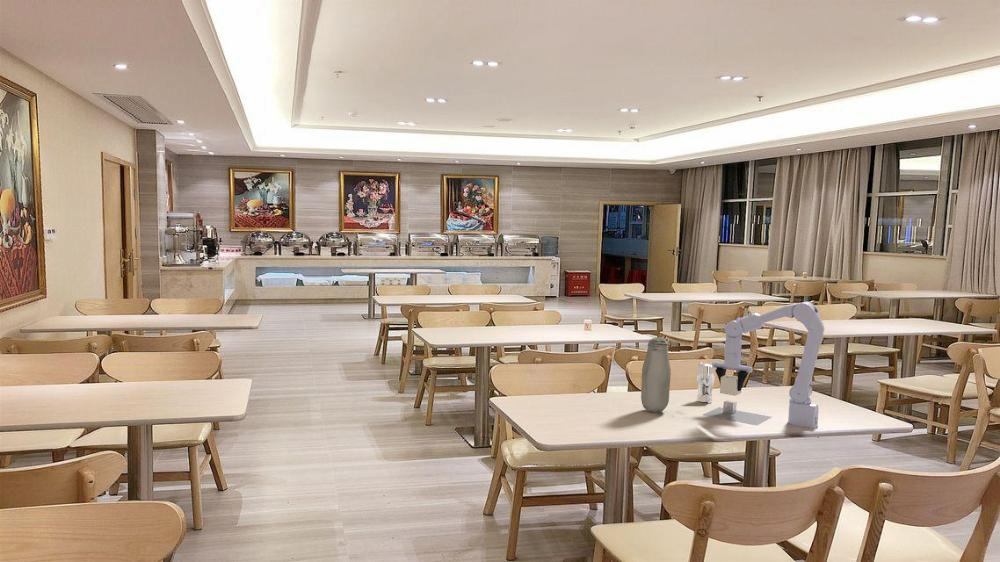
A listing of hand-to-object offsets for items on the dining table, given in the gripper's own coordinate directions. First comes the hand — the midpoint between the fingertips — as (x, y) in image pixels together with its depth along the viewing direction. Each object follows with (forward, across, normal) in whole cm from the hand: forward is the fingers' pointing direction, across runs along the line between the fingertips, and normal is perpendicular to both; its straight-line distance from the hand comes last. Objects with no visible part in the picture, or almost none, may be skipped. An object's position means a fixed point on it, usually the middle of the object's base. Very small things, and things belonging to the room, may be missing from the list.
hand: (730, 389), depth 270 cm
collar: (+1, 0, 0) cm, 1 cm away
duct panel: (+10, -4, +3) cm, 11 cm away
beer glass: (+10, +16, -15) cm, 24 cm away
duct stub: (+10, 0, 0) cm, 10 cm away
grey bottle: (+10, +23, +15) cm, 29 cm away
